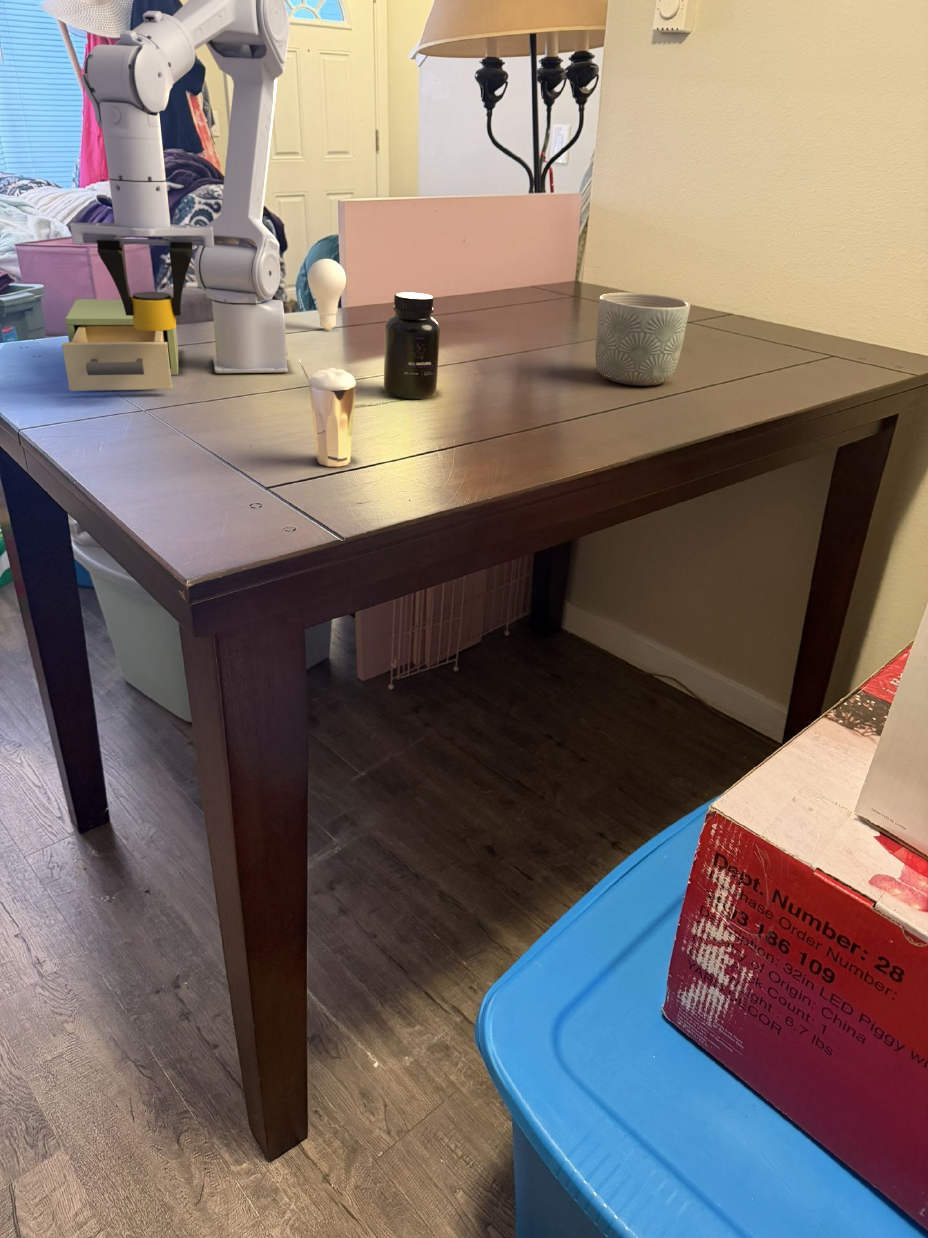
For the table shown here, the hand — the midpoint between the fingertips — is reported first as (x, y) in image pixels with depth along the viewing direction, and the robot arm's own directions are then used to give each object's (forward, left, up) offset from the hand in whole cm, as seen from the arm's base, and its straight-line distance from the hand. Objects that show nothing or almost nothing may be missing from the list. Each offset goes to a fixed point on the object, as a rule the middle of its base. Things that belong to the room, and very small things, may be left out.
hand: (153, 313), depth 99 cm
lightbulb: (-25, -41, -10) cm, 49 cm away
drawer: (+5, -6, -9) cm, 12 cm away
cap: (0, 0, -1) cm, 1 cm away
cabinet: (+5, -19, -10) cm, 22 cm away
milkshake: (-16, +24, -10) cm, 31 cm away
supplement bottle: (-30, -1, -10) cm, 32 cm away
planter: (-64, -6, -10) cm, 65 cm away
